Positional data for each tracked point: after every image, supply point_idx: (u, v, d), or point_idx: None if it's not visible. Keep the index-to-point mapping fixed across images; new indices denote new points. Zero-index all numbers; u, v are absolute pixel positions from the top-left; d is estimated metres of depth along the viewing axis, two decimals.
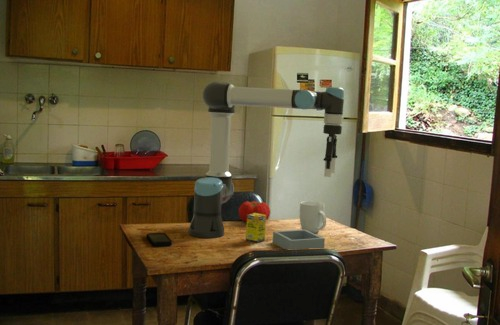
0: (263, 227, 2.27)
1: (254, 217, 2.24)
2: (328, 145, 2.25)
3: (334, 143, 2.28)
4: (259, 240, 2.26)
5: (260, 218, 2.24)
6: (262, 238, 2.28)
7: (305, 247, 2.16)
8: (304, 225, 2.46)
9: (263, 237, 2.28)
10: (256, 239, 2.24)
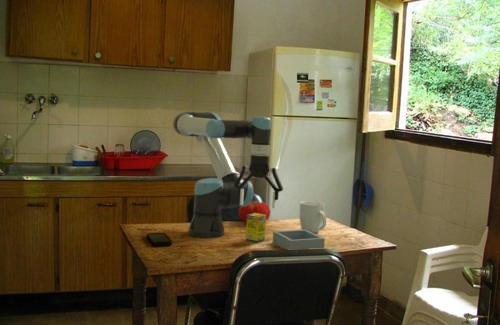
0: (263, 227, 2.27)
1: (254, 217, 2.24)
2: None
3: None
4: (259, 240, 2.26)
5: (260, 218, 2.24)
6: (262, 238, 2.28)
7: (305, 247, 2.16)
8: (304, 225, 2.46)
9: (263, 237, 2.28)
10: (256, 239, 2.24)
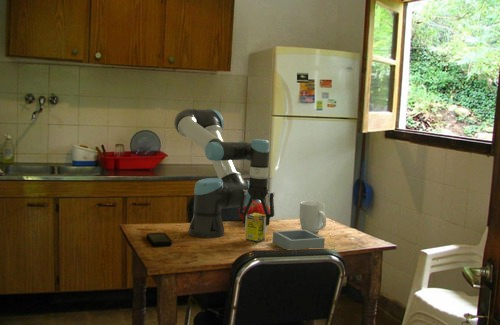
0: (263, 227, 2.27)
1: (254, 217, 2.24)
2: None
3: (250, 197, 2.25)
4: (259, 240, 2.26)
5: (260, 218, 2.24)
6: (262, 238, 2.28)
7: (305, 247, 2.16)
8: (304, 225, 2.46)
9: (263, 237, 2.28)
10: (256, 239, 2.24)
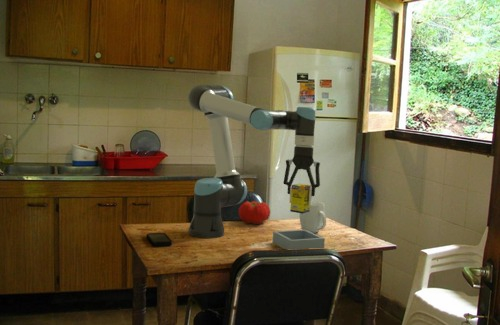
0: (308, 198, 2.20)
1: (300, 187, 2.17)
2: None
3: None
4: (304, 211, 2.19)
5: (306, 188, 2.17)
6: (307, 209, 2.21)
7: (305, 247, 2.16)
8: (304, 225, 2.46)
9: (308, 208, 2.21)
10: (302, 210, 2.17)
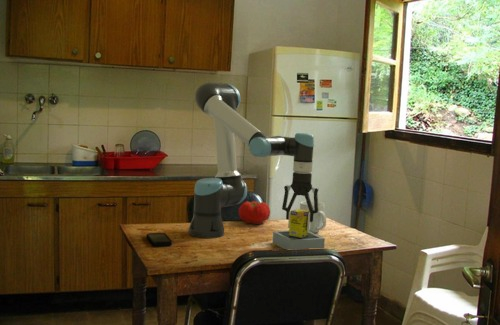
0: (307, 223, 2.21)
1: (298, 213, 2.18)
2: None
3: (294, 192, 2.20)
4: (303, 236, 2.20)
5: (304, 214, 2.18)
6: (306, 235, 2.22)
7: (305, 247, 2.16)
8: None
9: (307, 234, 2.22)
10: (300, 235, 2.19)
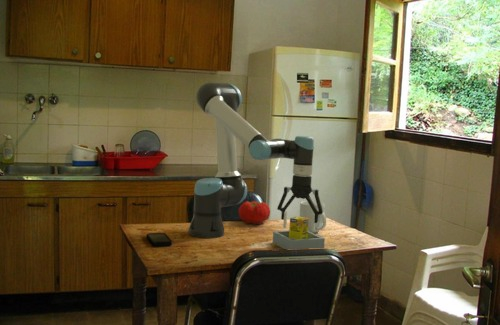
0: (306, 231, 2.22)
1: (298, 220, 2.19)
2: None
3: (293, 194, 2.20)
4: None
5: (304, 221, 2.19)
6: None
7: (305, 247, 2.16)
8: None
9: None
10: None
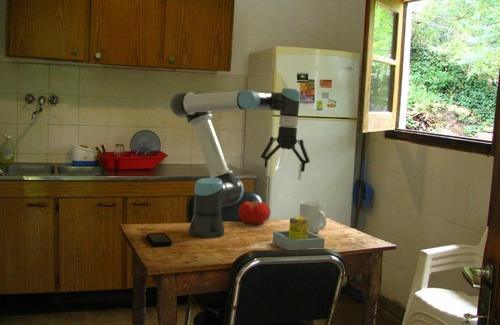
0: (306, 231, 2.22)
1: (298, 220, 2.19)
2: None
3: (278, 144, 2.26)
4: None
5: (304, 221, 2.19)
6: None
7: (305, 247, 2.16)
8: None
9: None
10: None
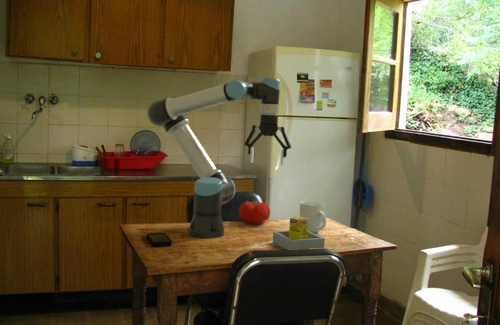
0: (306, 231, 2.22)
1: (298, 220, 2.19)
2: None
3: None
4: None
5: (304, 221, 2.19)
6: None
7: (305, 247, 2.16)
8: None
9: None
10: None
